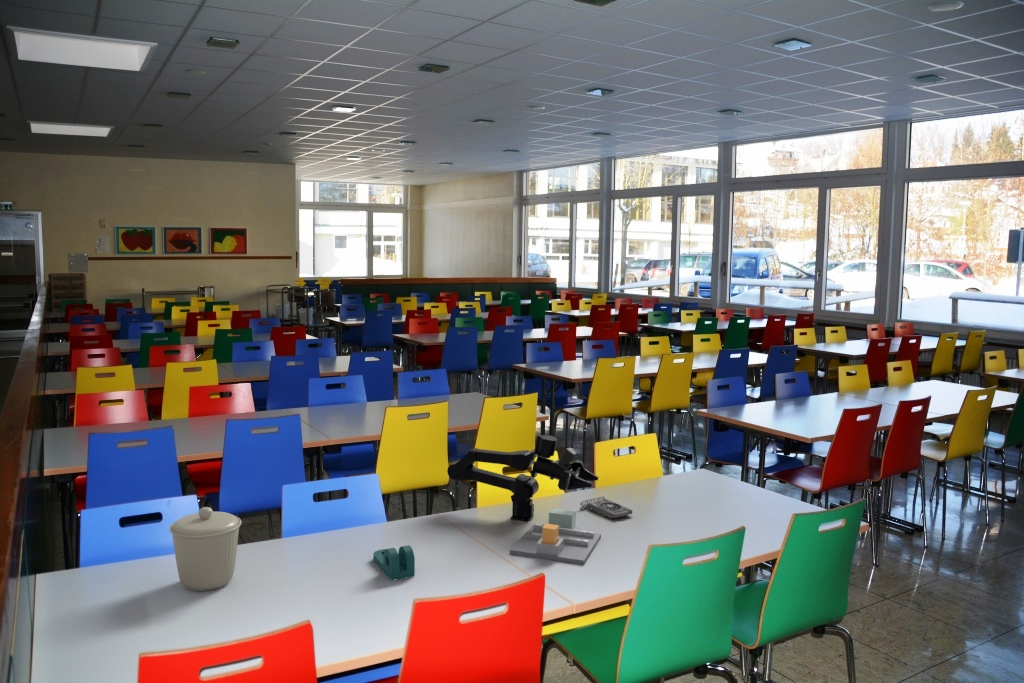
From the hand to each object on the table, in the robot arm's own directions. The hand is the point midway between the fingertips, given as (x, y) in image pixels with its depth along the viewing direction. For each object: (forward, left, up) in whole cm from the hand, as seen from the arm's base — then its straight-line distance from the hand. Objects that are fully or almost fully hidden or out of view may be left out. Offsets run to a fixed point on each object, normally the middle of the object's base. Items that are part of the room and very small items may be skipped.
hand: (595, 482), depth 264 cm
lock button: (-7, -28, -12) cm, 32 cm away
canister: (-88, -82, -16) cm, 122 cm away
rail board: (-7, -19, -15) cm, 26 cm away
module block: (-10, -2, -16) cm, 19 cm away
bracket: (-47, -54, -16) cm, 74 cm away
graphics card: (+1, +17, -16) cm, 23 cm away
